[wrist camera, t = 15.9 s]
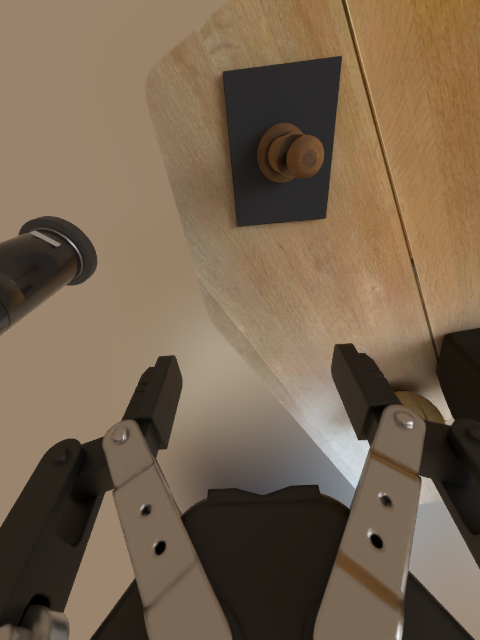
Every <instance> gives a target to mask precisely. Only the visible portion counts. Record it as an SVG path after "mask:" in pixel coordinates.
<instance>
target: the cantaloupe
mask: <svg viewBox="0 0 480 640" xmlns="http://www.w3.org/2000/svg"><path fill="white" fill-rule="evenodd" d="M395 394H396V395H397V397H398V398H399V400H400V401H401V403H402V404H403V406H406V407H408V408H410V409H412V410H414V411H415V412H417V413H418V414H419V415H420V416H421V417H422V419H424V420H428V421H432V422H437V423H441V424H445V421H444V418H443V416H442V415H441V413H440V411H439V410H438V409H437V408H436V407H435V406H434V405H433V404H432V403H431V402H430V401H429V400H428V399H426V398H424V397H423V396H421V395H418V394H416V393H413V392H409V391H397V392H395Z"/></svg>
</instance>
